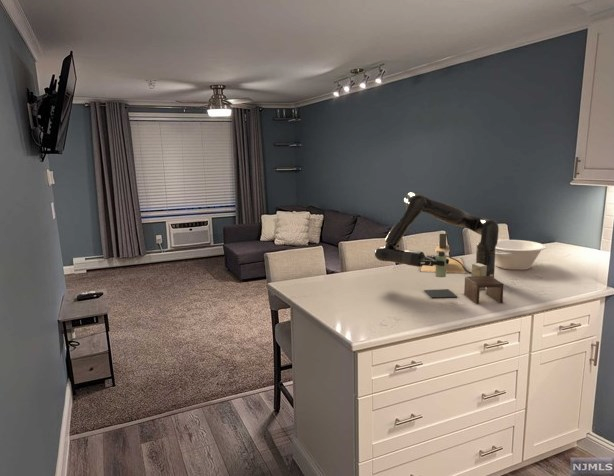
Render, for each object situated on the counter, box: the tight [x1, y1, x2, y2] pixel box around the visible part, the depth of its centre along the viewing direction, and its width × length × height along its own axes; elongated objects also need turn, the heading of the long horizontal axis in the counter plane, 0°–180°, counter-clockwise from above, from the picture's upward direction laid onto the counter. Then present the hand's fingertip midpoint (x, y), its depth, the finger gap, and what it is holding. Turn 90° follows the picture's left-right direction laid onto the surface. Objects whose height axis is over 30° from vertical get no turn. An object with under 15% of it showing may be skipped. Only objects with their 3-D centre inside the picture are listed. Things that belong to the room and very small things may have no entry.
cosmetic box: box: [470, 262, 487, 291], centre depth 215 cm, size 6×4×12 cm
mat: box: [424, 288, 458, 299], centre depth 208 cm, size 12×12×1 cm
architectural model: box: [420, 230, 467, 274], centre depth 265 cm, size 38×25×20 cm, turn 165°
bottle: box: [434, 251, 448, 278], centre depth 205 cm, size 5×5×12 cm
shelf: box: [463, 275, 505, 305], centre depth 199 cm, size 14×12×9 cm
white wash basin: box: [495, 239, 547, 271], centre depth 255 cm, size 44×34×13 cm
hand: (446, 262), depth 204 cm, fingers closed on bottle, 5 cm apart
